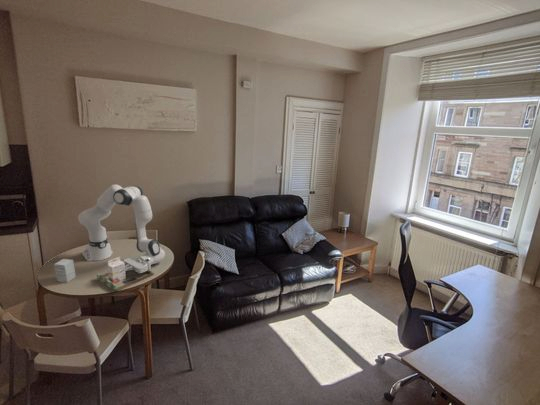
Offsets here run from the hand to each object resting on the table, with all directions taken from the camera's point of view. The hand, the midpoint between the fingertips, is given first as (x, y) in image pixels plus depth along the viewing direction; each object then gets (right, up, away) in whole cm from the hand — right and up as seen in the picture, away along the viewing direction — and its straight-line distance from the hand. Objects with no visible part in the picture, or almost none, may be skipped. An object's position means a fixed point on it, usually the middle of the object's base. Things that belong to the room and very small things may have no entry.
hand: (123, 269), depth 190 cm
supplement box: (-35, -6, -4) cm, 36 cm away
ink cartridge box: (-3, -7, -1) cm, 8 cm away
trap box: (0, -6, +2) cm, 6 cm away
